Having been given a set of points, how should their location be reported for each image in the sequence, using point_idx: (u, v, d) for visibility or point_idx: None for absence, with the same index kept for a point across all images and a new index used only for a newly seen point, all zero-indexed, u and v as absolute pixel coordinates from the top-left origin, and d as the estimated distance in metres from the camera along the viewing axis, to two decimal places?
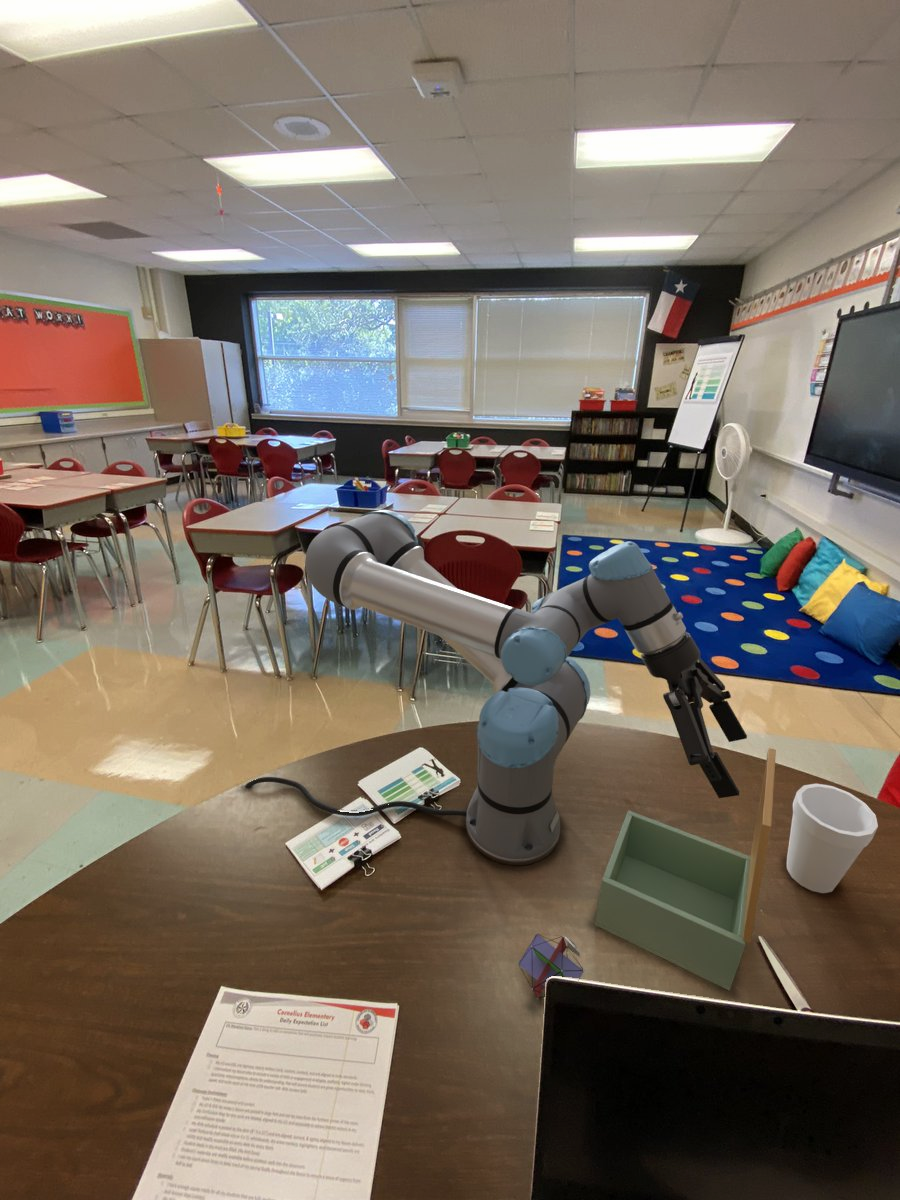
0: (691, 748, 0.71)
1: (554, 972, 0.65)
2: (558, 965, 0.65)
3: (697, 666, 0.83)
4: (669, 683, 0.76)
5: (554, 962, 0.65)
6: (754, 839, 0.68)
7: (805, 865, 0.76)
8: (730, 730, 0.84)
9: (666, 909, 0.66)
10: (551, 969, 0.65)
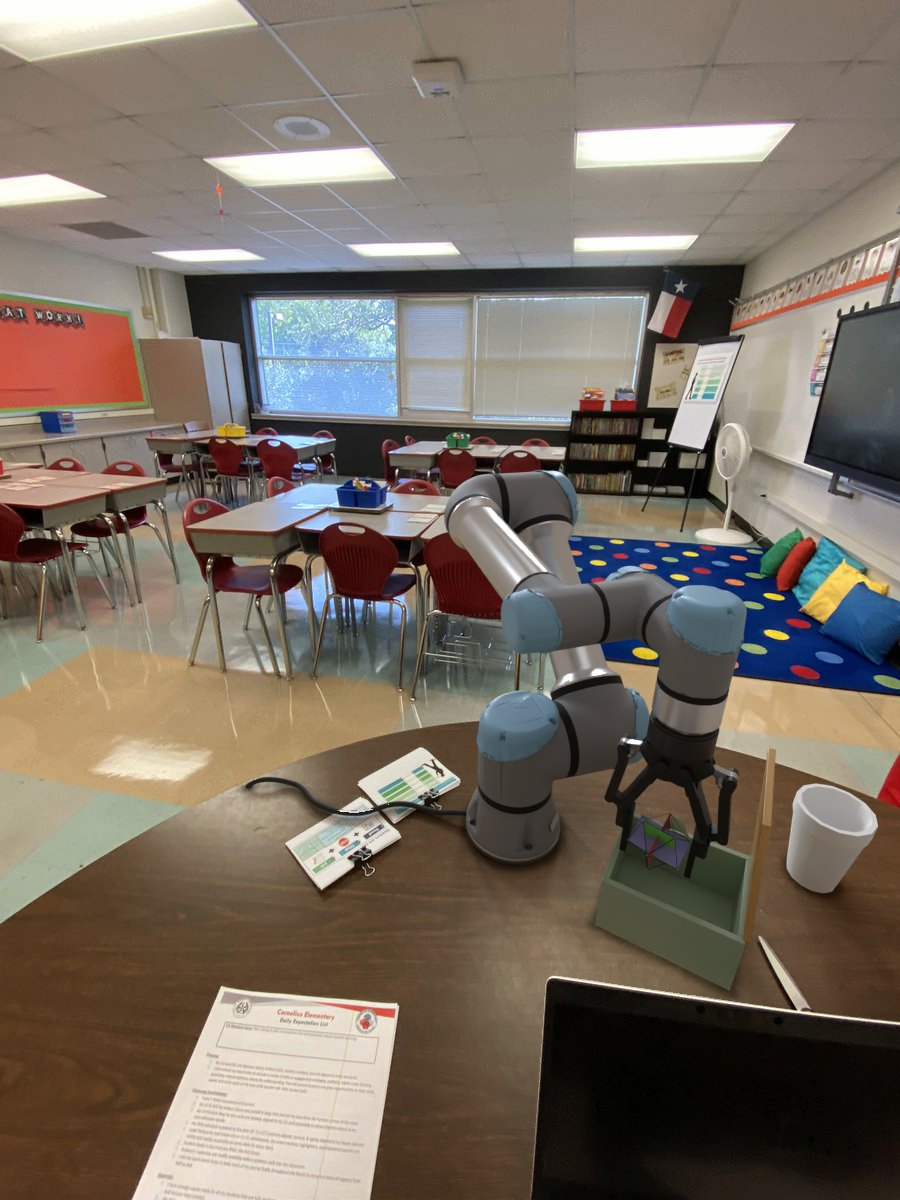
0: (729, 827, 0.65)
1: (663, 844, 0.71)
2: None
3: None
4: (711, 762, 0.62)
5: None
6: (754, 839, 0.68)
7: (805, 865, 0.76)
8: (628, 835, 0.73)
9: (666, 909, 0.66)
10: (660, 842, 0.71)
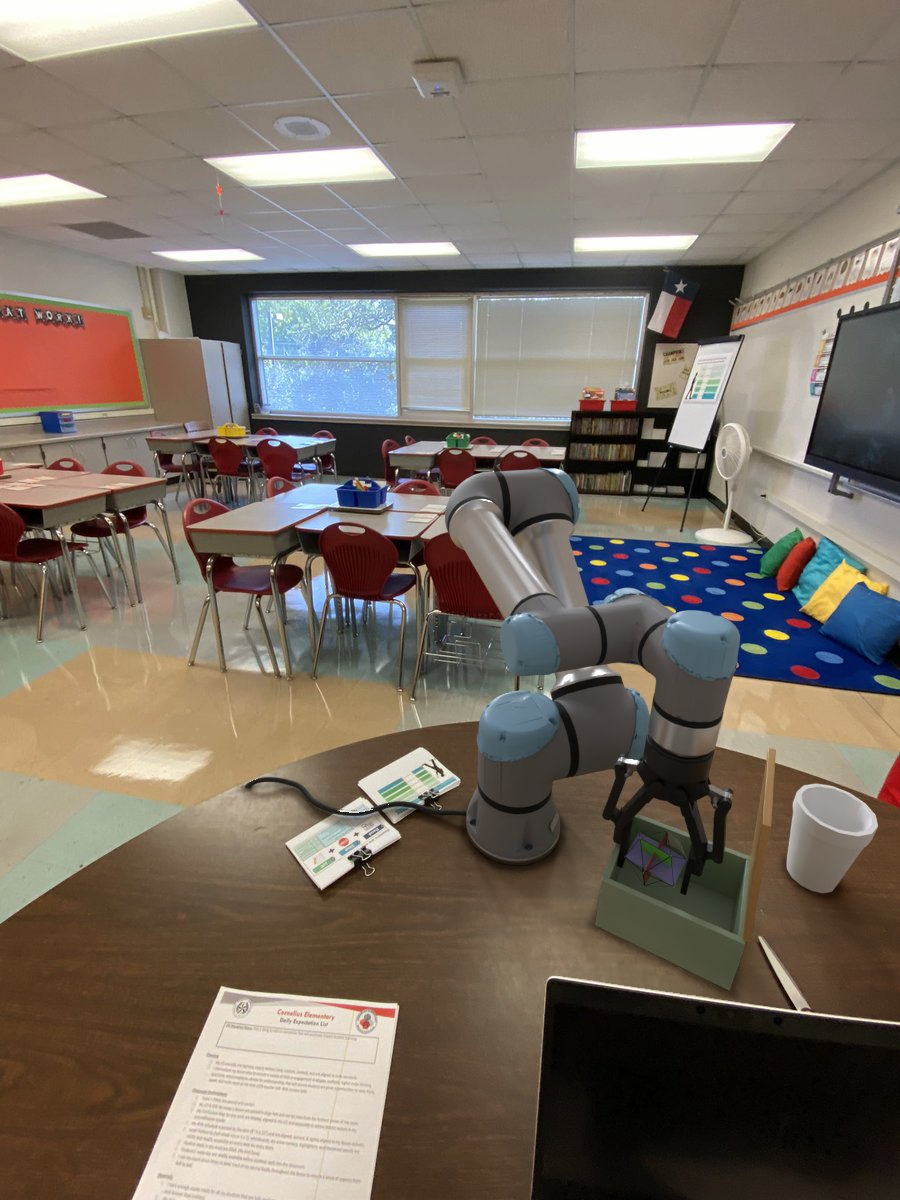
0: (724, 845, 0.66)
1: (659, 862, 0.72)
2: None
3: None
4: (706, 783, 0.64)
5: None
6: (754, 839, 0.68)
7: (805, 865, 0.76)
8: (626, 852, 0.74)
9: (666, 909, 0.66)
10: (656, 859, 0.72)
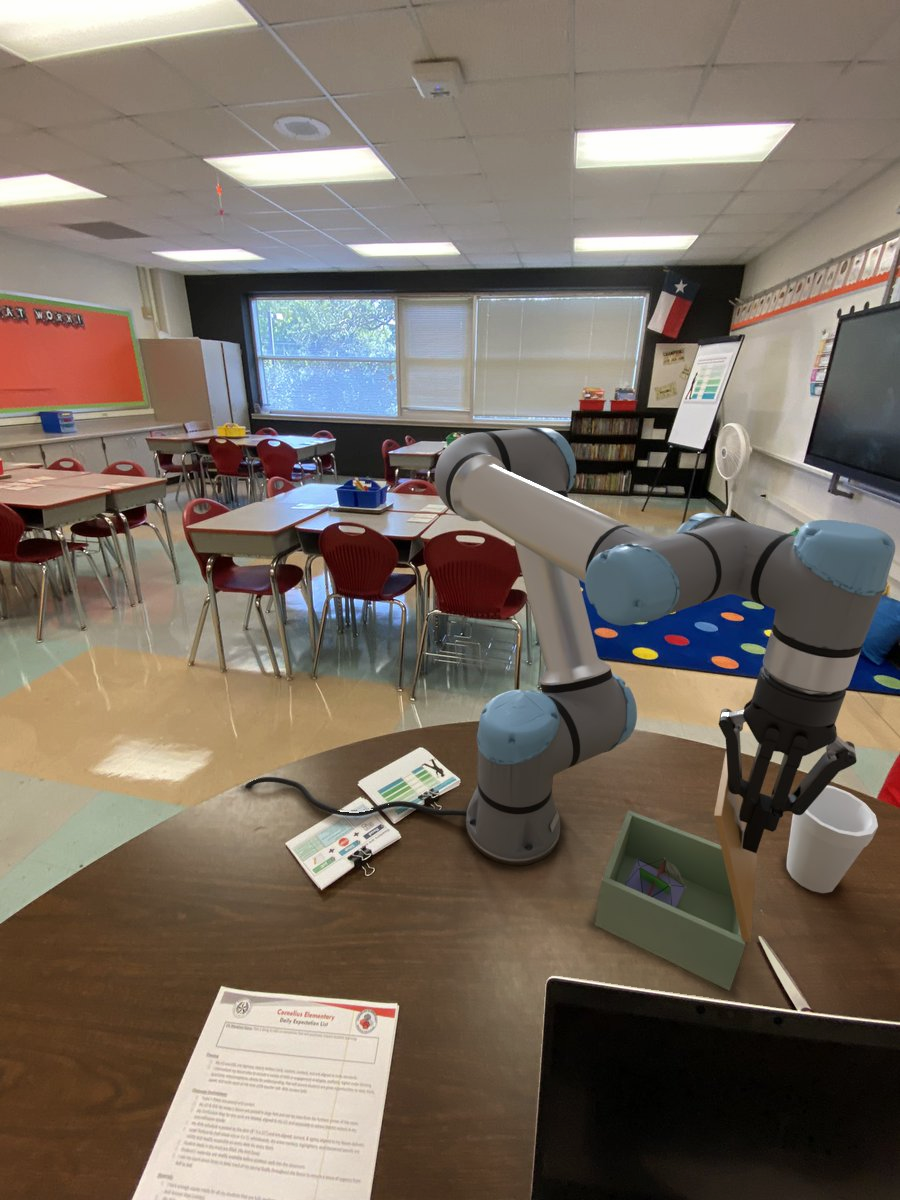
0: None
1: (658, 889, 0.74)
2: None
3: None
4: (834, 728, 0.54)
5: None
6: None
7: (805, 865, 0.76)
8: None
9: (666, 909, 0.66)
10: (655, 887, 0.74)
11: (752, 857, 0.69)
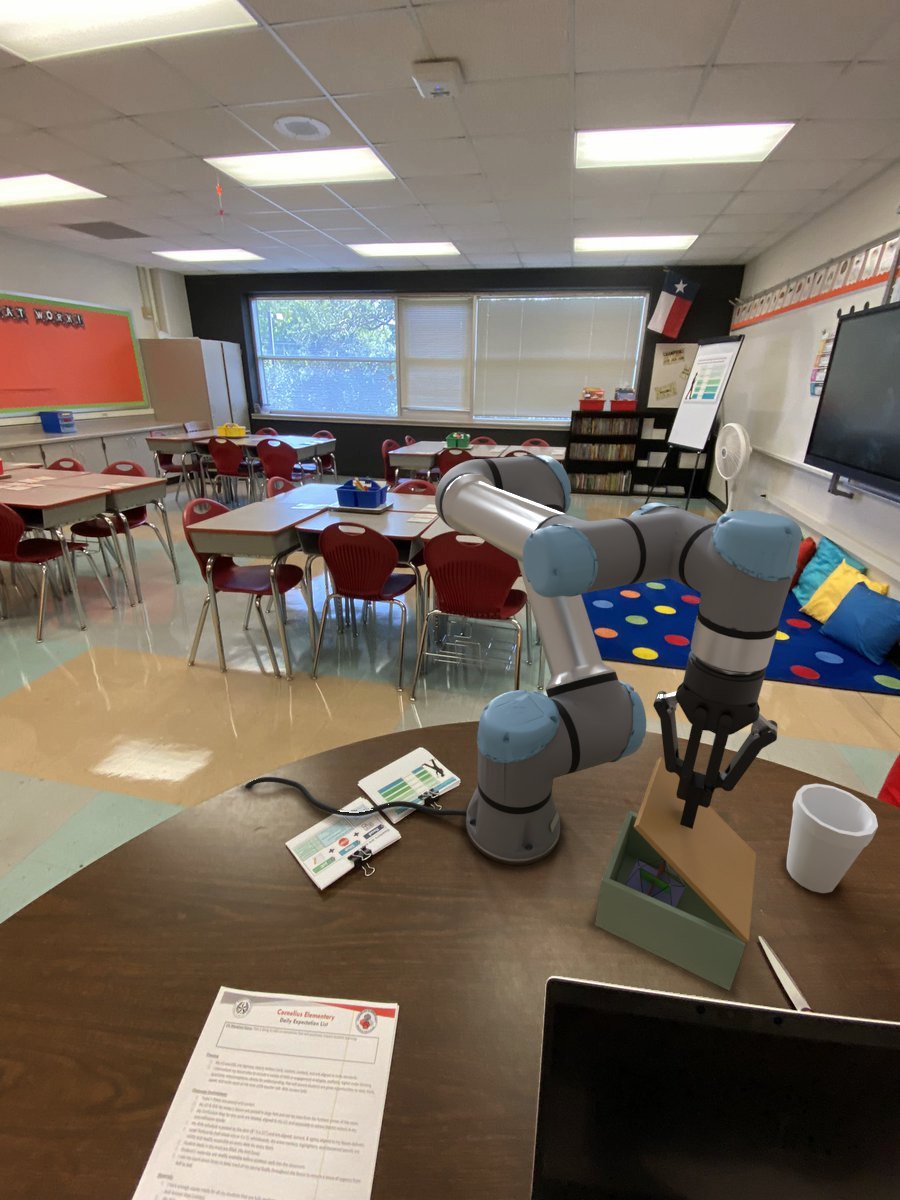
0: None
1: (658, 889, 0.74)
2: None
3: (673, 712, 0.64)
4: (756, 707, 0.58)
5: None
6: None
7: (805, 865, 0.76)
8: None
9: (666, 909, 0.66)
10: (655, 887, 0.74)
11: (739, 856, 0.70)
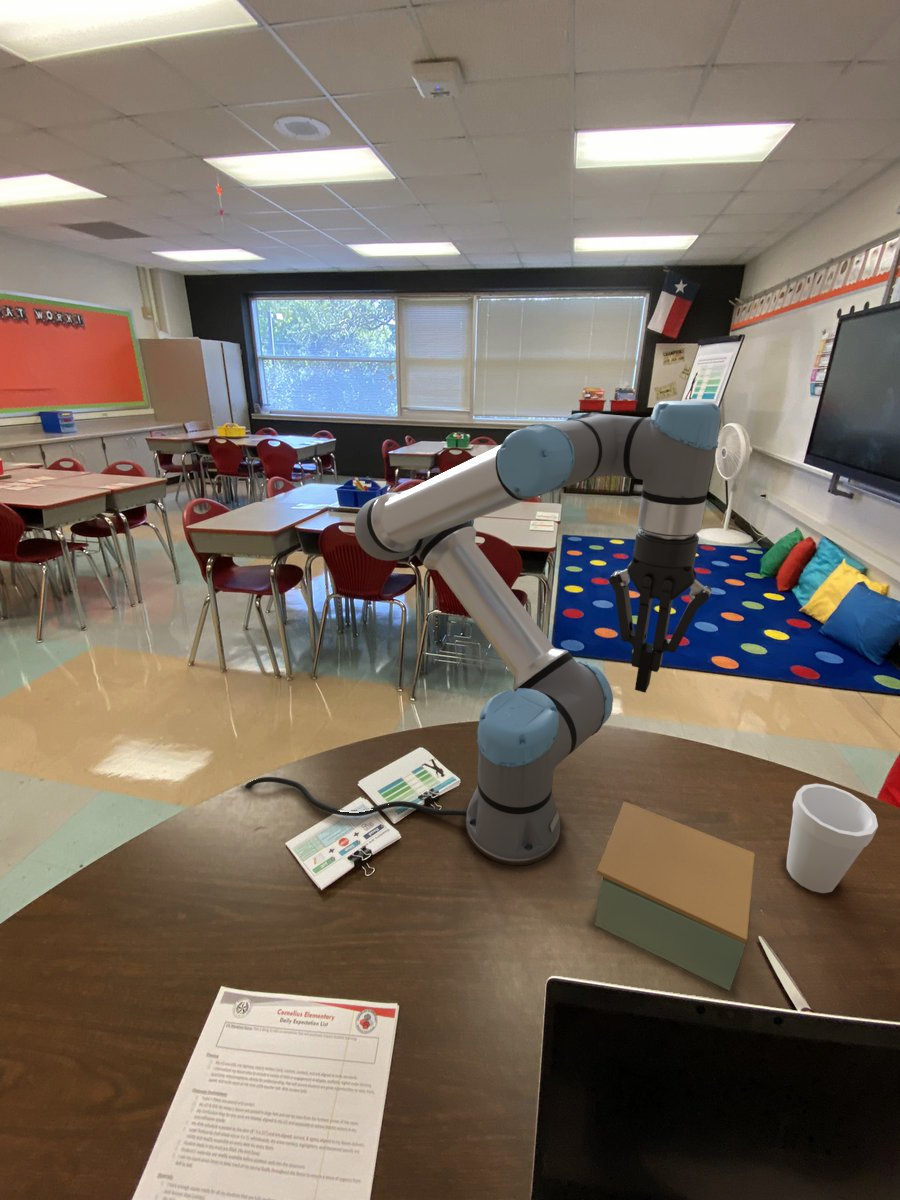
0: None
1: None
2: None
3: (626, 587, 0.75)
4: (691, 571, 0.68)
5: None
6: None
7: (805, 865, 0.76)
8: None
9: (666, 909, 0.66)
10: None
11: (730, 862, 0.71)
